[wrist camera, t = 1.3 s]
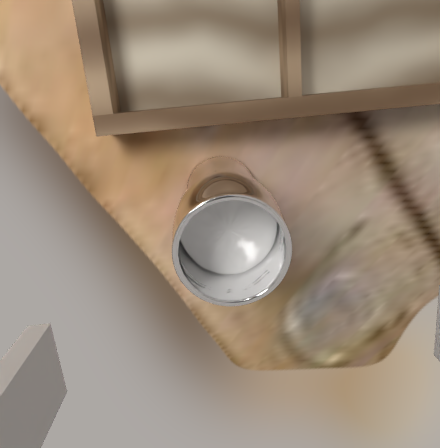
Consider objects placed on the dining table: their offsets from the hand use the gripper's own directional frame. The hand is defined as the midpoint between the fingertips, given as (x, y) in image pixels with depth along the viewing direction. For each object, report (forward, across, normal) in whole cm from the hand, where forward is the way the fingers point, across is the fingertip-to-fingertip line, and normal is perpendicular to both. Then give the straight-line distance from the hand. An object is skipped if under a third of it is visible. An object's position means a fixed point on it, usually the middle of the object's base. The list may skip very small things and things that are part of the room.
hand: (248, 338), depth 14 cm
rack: (+23, +6, +13) cm, 27 cm away
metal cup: (+24, 0, 0) cm, 24 cm away
